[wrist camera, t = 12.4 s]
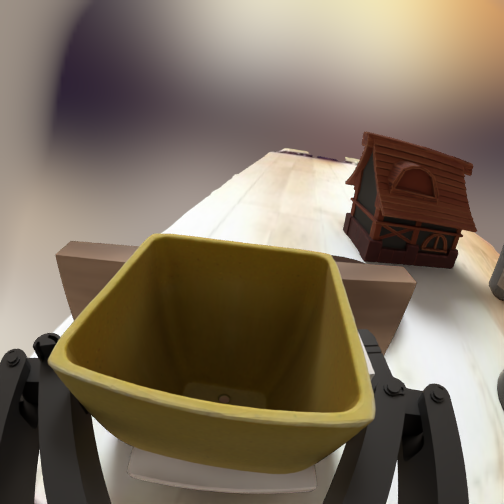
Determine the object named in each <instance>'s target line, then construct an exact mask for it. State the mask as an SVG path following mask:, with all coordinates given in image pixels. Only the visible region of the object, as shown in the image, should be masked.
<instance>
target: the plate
mask: <svg viewBox="0 0 504 504" xmlns="http://www.w3.org/2000/svg"><path fill="white" fill-rule="evenodd" d="M331 256H332V257H333V259H334V261H335V262H346V263H360V264H366V263H363V262H360V261H357V260H354V259H349V258H345V257H340V256H333V255H331Z"/></svg>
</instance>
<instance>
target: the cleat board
mask: <svg viewBox="0 0 504 504" xmlns="http://www.w3.org/2000/svg"><path fill="white" fill-rule="evenodd" d="M138 247H139V246H126V245H114V244H102V243H90V242H78V241H70V242H69V243H68V244H67V245H66V246H65V247H63V248H62V249H61V250H60V251H59V252H58V253H57V254H56V260H57V264H58V268H59V272H60V276H61V279H62V284H63V287H64V291H65V294H66V297H67V301H68V304H69V307H70V310H71V313H72V316H73V319H74V320H75V319H76V318H77V317H78V316H79V314H80V313H81V312H82V311H83V310H84V309H85V308H86V306H87V305H88V304H89V303H90V302H91V301H92V300H93V299H94V298H95V297H96V296H97V295H98V294H99V293H100V291H101V290H102V289H103V288H104V287H105V286H106V285H107V284H108V282H109V281H110V280H111V279H112V278H113V277H114V276H115V275H116V273H117V272H118V271H119V270H120V269H121V267H122V266H123V265H124V264H125V262H126V261H127V260H128V259H129V258H130V257H131V256H132V255H133V254H134V252H135V251H136V250H137V249H138ZM336 264H337V266H338V268H339V271H340V274H341V278H342V281H343V285H344V287H345V290H346V294H347V297H348V301H349V304H350V307H351V310H352V313H353V316H354V319H355V323H356V327H357V329H368V330H369V331H370V332H371V333H372V334H373V335H374V336H375V338H376V340H377V342H378V346H379V347H380V349H381V351H382V352H381V353H383V356H384V354H385V352H386V350H387V348H388V346H389V344H390V342H391V340H392V338H393V336H394V334H395V332H396V330H397V328H398V326H399V324H400V321H401V319H402V317H403V315H404V313H405V310H406V308H407V306H408V303H409V301H410V299H411V296H412V294H413V291H414V289H415V286H416V284H417V282H416V281H415V280H414V279H413V277H412V276H411V275H410V274H409V273H408V271H407V270H406V269H405V268H404V267H401V266H387V265H373V264H360V263H346V262H336ZM219 401H220V402H222V403H227V402H229V398H228V397H226V396H222V397H220V399H219ZM127 473H128V474H129V475H130V476H131V477H132V478H136V479H140V480H145V481H149V482H154V483H159V484H164V485H169V486H175V487H181V488H188V489H195V490H203V491H213V492H226V493H248V494H273V493H295V492H308V491H313V490H314V489H315V488H316V487H317V479H316V472H315V464H314V465H313V466H311V467H309V468H307V469H305V470H302V471H299V472H295V473H289V474H267V473H258V472H248V471H240V470H233V469H226V468H220V467H214V466H208V465H202V464H197V463H192V462H188V461H183V460H179V459H175V458H170V457H166V456H163V455H159V454H155V453H151V452H148V451H144V450H141V449H138V448H136V447H133V449H132V452H131V456H130V460H129V464H128V469H127Z"/></svg>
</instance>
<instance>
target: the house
mask: <svg viewBox="0 0 504 504" xmlns="http://www.w3.org/2000/svg"><path fill="white" fill-rule="evenodd" d="M362 145H363V146H365V148H364V149H365V150H364V151H363V153H362V156H361V158H360V161H359V163H358V165H357V167H356V169H355V170H354V172H353V174H352V175H351V176H350V177H349V179H348V180H347V181H346V182H345V183H346V184H348V185H354V190H355V194H354V198H351V200H352V201H353V204H352V209H351V213H347V214H346V218H345V223H344V227H343V231H344V232H345V234H346V235H348V236H349V238H350V239H351V241H352V242H353V243H354V245H355V246H356V248H357V249H358V251H359V252H360V256H361V257H362V259H363V260H364V261H368V262H379V263H391V264H403V265H414V266H426V267H437V268H449V269H451V268H453V266H454V264H455V261H456V258H457V256H458V250H457V249H456V246H457V243H458V240H459V237H463V235H462V234H461V231H462V230H467V231H471V232H476V231H477V229H476V227H475V224H474V222H473V218H472V216H471V212H470V208H469V204H468V199H467V194H466V187H465V180H464V177H465V175H464V174H466V175H469V176H470V175H472V169H473V164H471V163H469V162H466V161H464V160H461V159H459V158H456V157H453V156H449V155H447V154H444V153H441V152H438V151H435V150H432V149H430V148H426V147H423V146H419V145H416V144H412V143H409V142H405V141H401V140H398V139H394V138H390V137H386V136H383V135H378V134H374V133H370V132H364V134H363V139H362Z"/></svg>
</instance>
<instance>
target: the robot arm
mask: <svg viewBox="0 0 504 504" xmlns="http://www.w3.org/2000/svg"><path fill="white" fill-rule="evenodd" d="M357 330H358V334H359V338H360V341H361V345H362V348H363V351H364V355H365V359H366V362H367V367H368V372H369V375H370V380H371V385H372V389H373V393H374V399H375V409H376V411H375V417H374V420H373V421H372V422H371V423H370V424H368V425H367V426H366V427H365V428H363V429H362V430H361V431H360V432H359V433H358V434H356V435H355V436H354V437H352V438H351V439H350V440H349V441H347V442H346V445H345V448H344V451H343V454H342V457H341V459H340V462H339V465H338V468H337V470H336V473H335V475H334V478H333V480H332V483H331V485H330V488H329V490H328V492H327V495H326V497H325V499H324V501H323V504H386V502H387V498H388V495H389V491H390V487H391V483H392V479H393V475H394V471H395V467H396V462H397V460H398V504H469V498H468V488H467V479H466V471H465V464H464V458H463V452H462V447H461V441H460V436H459V432H458V427H457V423H456V418H455V414H454V410H453V406H452V402H451V399H450V395H449V393H448V391H447V390H446V389H445V388H444V387H443V386H441V385H439V384H429V385H428V386H427V387H426V388H425V389H424V390H423V391H419V390H413V389H408V388H406V387H405V385H404V383H403V382H401V381H400V380H399V379H397V378H394V377H393V376H392V374H391V372H390V369H389V367H388V365H387V362H386V360H385V358H384V356H383V353H381V352H382V351H381V349H380V347H379V346H378V342H377V340H376V338H375V336H374V335H373V334H372V333H371V332H370V331H369V330H368V329H357ZM59 339H60V336H59V335H57V334H55V333H47V334H44V335H41V336H40V337H38V338H37V339H36V340H35V342H34V344H33V348H34V350H35V352H36V354H37V356H38V358H27V356H26V354H25V353H24V352H23V351H22V350H20V349H12V350H10V351H8V352H7V353H6V354H5V355H4V357H3V358H2V360H1V362H0V504H34V497H35V483H36V472H37V464H38V456H39V449H40V457H41V467H42V475H43V482H44V488H45V494H46V499H47V504H111V501H110V498H109V495H108V491H107V488H106V484H105V480H104V477H103V473H102V469H101V464H100V460H99V456H98V451H97V446H96V441H95V435H94V430H93V424H92V417H91V414H90V413H89V412H88V411H87V410H86V409H85V407H84V406H83V405H82V404H81V403H80V402H79V401H78V400H77V399H76V397H75V396H74V395H73V394H72V393H71V392H70V390H69V389H68V388H67V387H66V385H65V384H64V383H63V382H62V381H61V379H60V378H59V377H58V375H57V374H56V373H55V371H54V370H53V369H52V368H51V366H50V365H49V364H48V359H49V357H50V355H51V353H52V351H53V349H54V347H55V345H56V344H57V342H58V340H59ZM497 388H498V395H499V399H500V402H501V404H502V406H503V408H504V370H503V371H502V372H501V374H500V376H499V378H498V384H497Z"/></svg>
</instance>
